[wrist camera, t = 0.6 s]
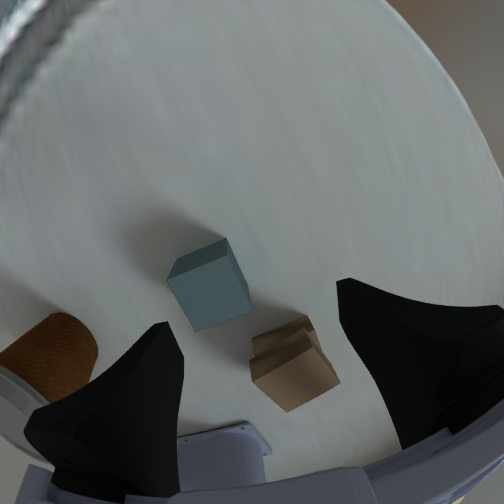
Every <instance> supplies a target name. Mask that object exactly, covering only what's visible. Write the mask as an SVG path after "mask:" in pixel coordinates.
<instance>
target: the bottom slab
mask: <svg viewBox="0 0 504 504" xmlns="http://www.w3.org/2000/svg"><path fill="white" fill-rule="evenodd" d="M302 328H305V329H306V331H307V332H308V333H309V335H310V336H311V337H312V339H313V340H314V341H315V343H316V344H317V345H318V347H319V348H320V349H321V346H320V343H319V340H318V337H317V335H316V332H315V329H314V327H313V325H312V323H311V321H310V319H309V317H308V316H306V317H304V318H301V319H299V320H296V321H294V322H292V323H289V324H287V325H284V326H282V327H279V328H277V329H274V330H272V331H269V332H266V333H264V334H261V335H259V336H256V337H253V338H252V344H253V350H254V355H255V356H258V355H259V354H261V353H263V352H265V351H266V350H268V349H270V348H271V347H273V346H275V345H276V344H278V343H280V342H281V341H283V340H285V339H286V338H288V337H290V336H291V335H293V334H294V333H296V332H298V331H299V330H301V329H302ZM321 351H322V349H321Z"/></svg>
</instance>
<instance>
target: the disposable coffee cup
mask: <svg viewBox="0 0 504 504" xmlns="http://www.w3.org/2000/svg"><path fill="white" fill-rule="evenodd" d="M97 357H98V347H97V344H96V341H95V339H94V337H93V335H92V334H91V332H90V331H89V330H88V329H87V327H86V326H85V325H84V324H82V323H81V322H80V321H79V320H78V319H76V318H75V317H73V316H70V315H68V314H65V313H54V314H51V315H50V316H49V317H47V318H46V319H44V320H43V321H42V322H40V323H39V324H38V325H36V326H35V327H34V328H32V329H31V330H30V331H28V332H27V333H26V334H24V335H23V336H22V337H20V338H19V339H18V340H16V341H15V342H14V343H13V344H11V345H10V346H9V347H7V348H6V349H5V350H4V351H2V352H1V353H0V435H1V436H2V437H4V438H5V439H6V440H7V441H8V442H9V443H11V444H12V445H13V446H15V447H16V448H17V449H19V450H20V451H22V452H23V453H25V454H27V455H28V456H30V457H32V458H34V459H36V460H38V461H41V462H43V463H46V464H50V465H52V464H51V463H50V462H49V461H47V460H46V459H45V458H44V457H43V456H42V455H41V454H40V453H38V452H37V451H36V450H35V449H34V448H33V447H32V446H31V445H30V444H29V442H28V441H27V439H26V438H25V435H24V433H23V430H24V427H25V426H26V424H27V422H28V420H29V418H30V416H31V414H32V412H33V411H34V410H35V409H37V408H40V407H43V406H46V405H48V404H51V403H53V402H56V401H58V400H60V399H62V398H64V397H66V396H68V395H70V394H72V393H74V392H76V391H77V390H79V389H80V388H82V387H84V386H85V385H87V384H88V383H89V380H90V377H91V374H92V370H93V368H94V365H95V362H96V359H97Z"/></svg>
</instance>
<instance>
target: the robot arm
mask: <svg viewBox="0 0 504 504" xmlns="http://www.w3.org/2000/svg"><path fill="white" fill-rule="evenodd" d="M336 285H337V296H338V308H339V321H340V323H341V326H342V328H343V330H344V332H345V334H346V336H347V338H348V340H349V342H350V343H351V345H352V346H353V348H354V349H355V351H356V352H357V354H358V355H359V357H360V358H361V360H362V361H363V363H364V364H365V366H366V368H367V369H368V371H369V372H370V374H371V375H372V377H373V379H374V381H375V382H376V384H377V387H378V389H379V391H380V393H381V395H382V397H383V399H384V402H385V404H386V406H387V409H388V411H389V414H390V416H391V419H392V421H393V424H394V427H395V429H396V432H397V435H398V438H399V441H400V444H401V447H402V451H400V452H398V453H396V454H394V455H391V456H389V457H387V458H385V459H382V460H380V461H377V462H375V463H372V464H370V465H367V466H365V467H362V468H358V467H338V468H333V469H328V470H323V471H318V472H314V473H310V474H306V475H302V476H298V477H293V478H288V479H284V480H278V481H273V482H266V475H265V468H264V462H263V456H266V455H270V454H272V450H271V448H270V447H269V446H268V445H267V443H266V442H265V441H264V440H263V438H262V437H261V436H260V435H259V433H258V432H257V431H256V430H255V428H254V427H253V426H252V424H251V423H248V422H246V423H242V424H238V425H234V426H230V427H226V428H222V429H218V430H213V431H209V432H204V433H199V434H194V435H189V436H183V437H177V419H178V412H179V405H180V399H181V393H182V386H183V380H184V356H183V354H182V352H181V350H180V348H179V346H178V343H177V341H176V339H175V337H174V335H173V332H172V330H171V328H170V325H169V323H168V321H166V322H161V323H156V324H154V325H153V326H151V327H150V328H149V329H148V330H147V331H146V332H145V333H144V334H143V335H142V336H141V337H140V338H139V339H138V340H137V341H136V342H135V344H134V345H133V346H132V347H131V348H130V349H129V350H128V351H127V352H126V353H125V354H124V355H122V356H121V357H120V358H119V359H118V360H117V361H116V362H115V363H114V364H113V365H112V366H111V367H110V368H108V369H107V370H106V371H105V372H103V373H102V374H101V375H100V376H98V377H97V378H96V379H94V380H93V381H91V382H90V383H88V384H87V385H85V386H84V387H82V388H80V389H79V390H77V391H76V392H74V393H72V394H70V395H68V396H66V397H64V398H62V399H60V400H58V401H56V402H53V403H51V404H48V405H46V406H43V407H40V408H37V409H35V410H34V411H33V412H32V414H31V416H30V418H29V420H28V422H27V424H26V426H25V427H24V430H23V433H24V435H25V438H26V439H27V441H28V442H29V444H30V445H31V446H32V447H33V448H34V449H35V450H36V451H37V452H38V453H40V454H41V455H42V456H43V457H44V458H45V459H46V460H47V461H49V462H50V463H51V464H52V465H53V466H54V467H55V470H54V473H52V472H51V471H49V470H47V469H44V468H41V467H38V466H35V465H32V464H29V465H28V468H27V470H26V473H25V476H24V478H23V481H22V484H21V487H20V489H19V492H18V495H17V498H16V501H15V504H452V503H453V502H455V501H456V500H458V499H459V498H461V497H462V496H463V495H465V494H466V493H468V492H469V491H470V490H472V489H473V488H474V487H476V486H477V485H478V484H480V483H481V482H482V481H484V480H485V479H486V478H487V477H488V476H490V475H491V474H492V473H493V472H495V471H496V470H497V469H498V468H499V467H500V466H501V465H503V464H504V309H502V308H501V307H500V306H498V305H489V306H477V307H457V306H444V305H436V304H430V303H424V302H420V301H415V300H411V299H407V298H404V297H401V296H398V295H395V294H392V293H389V292H386V291H383V290H381V289H378V288H376V287H373V286H371V285H368V284H366V283H363V282H361V281H358V280H355V279H352V278H346V279H343V280H339V281H336ZM177 444H178V455H177Z"/></svg>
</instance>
